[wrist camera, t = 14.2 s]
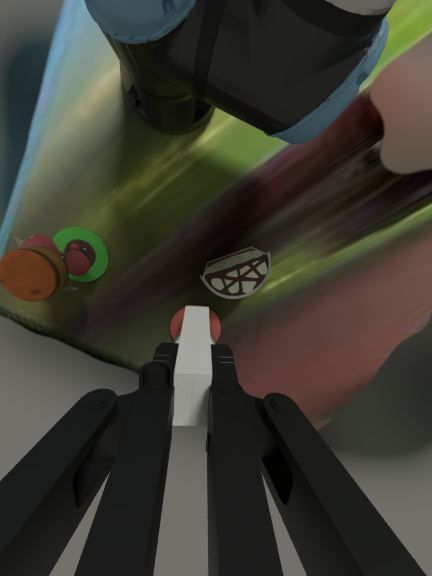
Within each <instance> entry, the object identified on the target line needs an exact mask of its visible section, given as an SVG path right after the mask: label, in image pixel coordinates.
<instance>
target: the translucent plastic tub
mask: <svg viewBox="0 0 432 576" xmlns="http://www.w3.org/2000/svg"><path fill="white" fill-rule="evenodd" d="M15 238H16V241H17V244H18V248H19V249H18V250H14V251H11V252H9V253H7V254H6V255H5V256H3V258H2V259H1V260H0V280H1V282H2V284H3V285H4V287H5V288H6V289H7V290H8V291H9V292H10V293H11V294H13V295H14V296H16V297H18V298H19V299H22V300H25V301H31V302H37V301H42V300H44V299H47V298H48V297H50V296H51V297H55V298H61V299H63V298H64V297H66V296H67V295H68V294H69V293H71V292H73V291H75V290H76V289H78V288H74V287H70V286H67V285H66V284H67V281H68V278H70V279H72V280H75V281H79V282H90V281H93V280H96V279H98V278H99V277H101V276H102V275H103V274H104V273H105V271H106V269H107V267H108V264H109V254H108V250H107V247H106V245H105V244H104V242H103V241H102V240H101V238H100V237H99V236H97V235H96V234H95V233H93V232H92V231H90V230H88V229H85V228H80V227H71V228H66V229H64V230H62V231H60V232H59V233H57V234H56V236H55V237H54V238H53V240H51V239H50V238H49V237H48V236H46V235H43V234H36V235H34V236H31V237H30V238H29V239H27V240H20V239H18V238H17V237H15Z"/></svg>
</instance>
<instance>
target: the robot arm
mask: <svg viewBox="0 0 432 576" xmlns="http://www.w3.org/2000/svg"><path fill="white" fill-rule="evenodd" d="M395 2H396V0H85V3H86V6H87V9H88V11H89V13H90V14H91V16H92V18H93V19H94V21H95V22H96V23H98V25H99V27H100V28H101V30H102V32H103V33H104V35H105V37H106V38H107V40H108V42H109V43H110V45H111V47H112V48H113V50H114V52H115V53H116V55H117V57H118V58H119V60H120V72H121V78H122V82H123V86H124V89H125V91H126V94H127V96H128V98H129V100H130V102H131V104H132V105H133V107H134V108H135V110H136V111H137V113H138V114H139V115H140V116H141V118H142V119H143V120H144V121H145V122H146V123H148V124H149V125H150V126H152V127H153V128H155V129H156V130H158V131H161V132H164V133H167V134H174V135H179V134H186V133H189V132H192V131H194V130H196V129H197V128H199V127H200V126H201V125H203V124H204V123H205V122H206V121H207V119H208V118H209V117H210V115H211V114H212V112H213V110H214V109H215V107H216V108H218V109H220V110H222V111H224V112H226V113H228V114H230V115H232V116H234V117H236V118H238V119H240V120H242V121H244V122H246V123H248V124H250V125H252V126H254V127H256V128H258V129H260V130H262V131H264V133H265V134H266V135H267V136H269V137H270V136H271V137H277V138H279V139H282V140H284V141H286V142H288V143H291V144H303V143H306V142H308V141H310V140H312V139H314V138H315V137H317V136H318V135H319V134H321V133H322V132H323V131H324V130H325V129H326V128H328V127H329V126H330V125H331V124H332V123H333V122H334V121H335V120H336V119H337V118H338V116H339V115H340V114H341V113H342V112H343V111H344V110H345V109H346V107H347V106H348V105H349V104H350V102H351V101H352V100H353V99H354V97H355V96H356V95H357V93H358V92H359V87H360V84H361V83H362V82H363V81H364V80H365V79H366V78H367V77H368V76H369V75H370V74H371V72H372V70H373V69H374V67H375V65H376V64H377V62H378V60H379V58H380V56H381V54H382V52H383V50H384V47H385V45H386V42H387V38H388V31H389V25H388V22H387V17H386V15H387V13H388V12H389V11H390V9H391V8H392V6H393V5H394V3H395ZM207 424H208V431H207V441H206V451H207V487H208V488H207V490H208V492H207V494H208V573H209V574H208V575H209V576H283V571H282V567H281V562H280V558H279V553H278V548H277V543H276V539H275V534H274V530H273V525H272V520H271V516H270V511H269V506H268V502H267V497H266V492H265V488H264V483H263V479H262V474H263V477H264V479H265V481H266V483H267V486H268V488H269V490H270V492H271V495H272V497H273V499H274V501H275V504H276V506H277V508H278V511H279V513H280V515H281V517H282V519H283V522H284V524H285V526H286V529H287V531H288V533H289V536H290V538H291V540H292V542H293V545H294V547H295V549H296V551H297V554H298V556H299V558H300V561H301V563H302V565H303V567H304V569H305V571H306V574H307V576H426V574H425V573H424V572H423V570H422V569H421V568H420V566H419V565H418V564H417V562H416V561H415V560H414V558H413V557H412V556H411V555H410V553H409V552H408V551H407V549H406V548H405V547H404V545H403V544H402V543H401V541H400V540H399V539H398V537H397V536H396V535H395V533H394V532H393V531H392V530H391V528H390V527H389V526H388V524H387V523H386V522H385V520H384V519H383V518H382V516H381V515H380V514H379V512H378V511H377V510H376V508H375V507H374V506H373V504H372V503H371V502H370V500H369V499H368V498H367V497H366V495H365V494H364V493H363V491H362V490H361V489H360V487H359V486H358V485H357V483H356V482H355V481H354V479H353V478H352V477H351V476H350V474H349V473H348V471H347V470H346V469H345V468H344V466H343V465H342V464H341V462H340V461H339V460H338V458H337V457H336V456H335V454H334V453H333V452H332V450H331V449H330V448H329V446H328V445H327V444H326V442H325V441H324V440H323V439H322V437H321V436H320V435H319V433H318V432H317V431H316V429H315V428H314V427H313V425H312V424H311V423H310V421H309V420H308V419H307V417H306V416H305V415H304V414H303V412H302V411H301V410H300V408H299V407H298V406H297V404H296V403H295V402H294V401H293V400H292V399H291V398H290V397H288V396H286V395H284V394H281V393H270V394H267V395H266V396H265V397H264V399H260V398H257V397H254V396H251V395H249V394H247V393H246V392H244V390H243V388H242V386H241V385H239V383H238V378H237V373H236V368H235V363H234V358H233V353H232V350H231V349H230V348H229V346H228V345H220V344H211V342H210V323H209V307H199V306H186V308H185V313H184V319H183V325H182V330H181V336H180V342H179V343H161V344H160V345H159V346H158V347H157V348H156V351H155V354H154V357H153V361H152V362H149V363H146V364H145V365H143V366H142V367H141V368H140V370H139V389H138V390H136V391H134V392H133V393H129V394H126V395H121V396H117V395H116V394H115V392H114V391H112V390H109V389H97V390H93V391H91V392H89V393H87V394H85V395H84V396H83V397H82V398H81V399H80V400H79V401H78V402H77V403H76V404H75V405H74V406H73V407H72V408H71V409H70V410H69V411H68V412H67V413H66V414H65V415H64V416H63V417H62V418H61V419H60V420H59V421H58V422H57V423H56V424H55V426H53V427H52V428H51V429H50V430H49V432H48V433H47V434H46V435H45V436H44V437H43V438H42V439H41V440H40V441H39V442H38V443H37V444H36V445H35V446H34V447H33V448H32V449H31V450H30V451H29V452H28V453H27V454H26V455H25V456H24V457H23V458H22V460H20V462H18V464H16V465H15V467H14V468H13V469H12V470H11V471H10V472H9V473H8V474H7V475H6V476H5V477H4V478H3V479H2V480H1V481H0V576H49V575H50V573H51V571H52V569H53V568H54V566H55V564H56V563H57V561H58V559H59V558H60V556H61V554H62V552H63V551H64V549H65V547H66V546H67V544H68V542H69V540H70V539H71V537H72V535H73V533H74V532H75V530H76V528H77V527H78V525H79V523H80V522H81V520H82V518H83V517H84V515H85V513H86V511H87V510H88V508H89V506H90V505H91V503H92V501H93V499H94V498H95V496H96V494H97V493H98V491H99V489H100V487H101V486H102V484H103V482H104V481H105V478H106V477H107V476H108V474H109V472H110V474H109V477H108V479H107V482H106V485H105V488H104V491H103V494H102V497H101V500H100V502H99V505H98V508H97V511H96V514H95V517H94V520H93V523H92V525H91V528H90V532H89V534H88V538H87V540H86V543H85V546H84V549H83V551H82V554H81V557H80V560H79V563H78V566H77V569H76V572H75V574H74V576H153V572H154V565H155V558H156V550H157V543H158V535H159V528H160V520H161V513H162V505H163V498H164V490H165V483H166V476H167V468H168V460H169V453H170V445H171V438H172V425H174V426H177V425H178V426H207ZM110 470H111V471H110ZM261 472H262V474H261Z"/></svg>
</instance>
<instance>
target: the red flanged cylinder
mask: <svg viewBox="0 0 432 576" xmlns="http://www.w3.org/2000/svg"><path fill="white" fill-rule="evenodd" d="M189 306H199V307H205V306H202V305H189ZM185 308H186V307H183V308H182V309H180V310H179V311H178V312H177V313H176V314H175V315H174V317H173V318H172V321H171V325H170V332H171V335H172V338H173V340H175V338H176V336H177V334H178V333H179V332H180V331H181V330H182V325H183V319H184V313H185ZM209 323H210V333H211V334H212V336H213V337H214V340H215V342H216V341H217V339H218V338H219V335H220V331H221V326H220V321H219V318H218V316H217V315H216V314H215V312H214V311H212V310H211V309H210V308H209Z"/></svg>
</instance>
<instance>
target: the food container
mask: <svg viewBox="0 0 432 576" xmlns="http://www.w3.org/2000/svg"><path fill="white" fill-rule="evenodd" d="M270 266H271V258H270V253H269V252H268V254H267V253H265V252H263V251H260V250H258V249H256V248H253V247H249V248H246V249H243V250H240V251H237V252H235V253H232V254H229V255H226V256H223V257H220V258H218V259H215V260H212V261H209V262H207V264H206V268H205V271H204V274H203V277H202V276H201V275H200V277H201V279H202V281H203V282H204V284H205V285H206V286H207V288H208V289H209V290H210V291H212V292H213V293H214V294H216V295H218V296H221V297H223V298H228V299H239V298H243V297H246V296H249V295H251V294H253V293H254V292H256V291H257V290H258V289H259V288H260V287H261V286H262V285H263V284H264V282H265V281H266V279H267V277H268V275H269V271H270Z"/></svg>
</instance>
